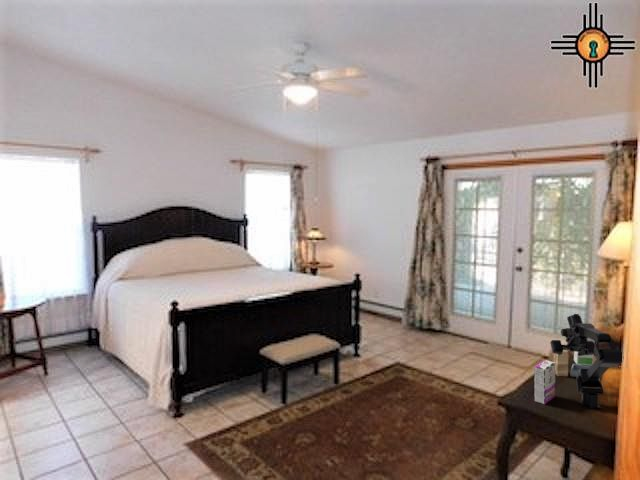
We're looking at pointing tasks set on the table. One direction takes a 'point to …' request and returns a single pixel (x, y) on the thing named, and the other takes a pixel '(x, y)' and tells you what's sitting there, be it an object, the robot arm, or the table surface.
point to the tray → (577, 369)
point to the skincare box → (584, 358)
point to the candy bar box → (544, 381)
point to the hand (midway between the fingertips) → (568, 354)
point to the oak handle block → (561, 363)
